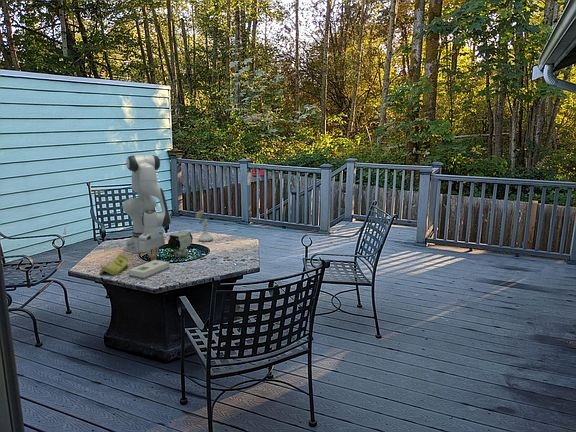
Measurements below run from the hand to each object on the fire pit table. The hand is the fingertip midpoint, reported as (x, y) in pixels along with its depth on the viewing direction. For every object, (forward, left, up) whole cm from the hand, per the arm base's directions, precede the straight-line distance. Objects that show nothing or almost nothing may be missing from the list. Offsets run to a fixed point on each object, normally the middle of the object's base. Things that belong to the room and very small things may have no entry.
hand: (153, 254), depth 284 cm
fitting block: (+12, -16, -5) cm, 21 cm away
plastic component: (-10, -22, -6) cm, 25 cm away
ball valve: (+8, +19, -5) cm, 21 cm away
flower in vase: (-3, +59, -5) cm, 59 cm away
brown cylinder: (0, 0, -5) cm, 5 cm away
